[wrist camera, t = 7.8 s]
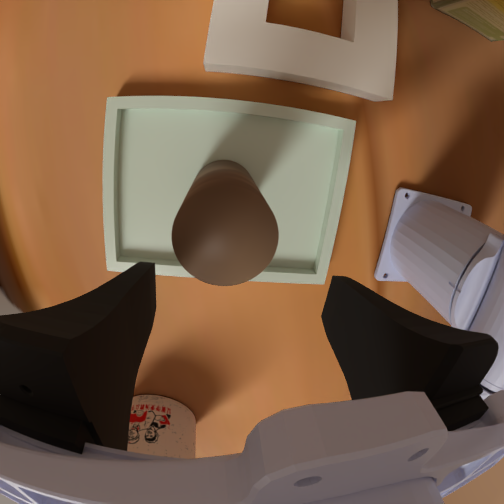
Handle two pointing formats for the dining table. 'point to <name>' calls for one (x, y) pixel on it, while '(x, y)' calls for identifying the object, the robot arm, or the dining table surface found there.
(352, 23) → the holder block
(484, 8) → the food packaging
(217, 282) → the walnut pin
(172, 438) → the teacup with lid
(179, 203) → the sage tray
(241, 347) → the dining table surface
